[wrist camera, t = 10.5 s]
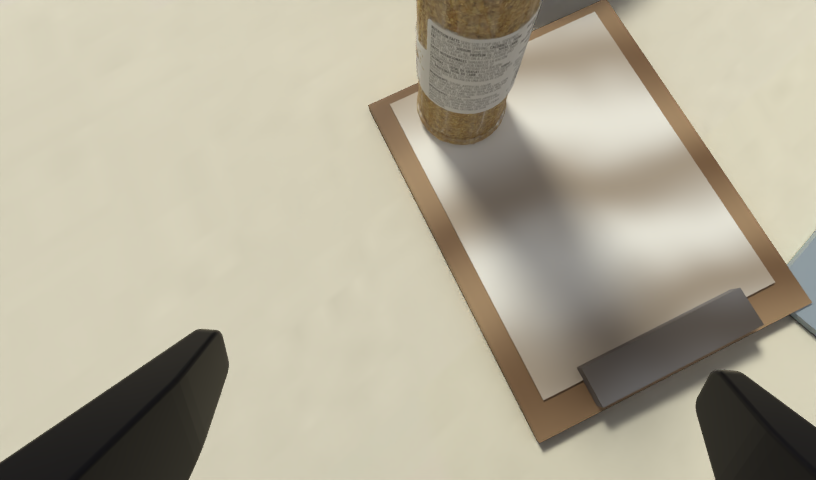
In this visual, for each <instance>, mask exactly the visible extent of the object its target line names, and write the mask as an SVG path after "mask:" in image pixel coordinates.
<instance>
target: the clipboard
mask: <svg viewBox="0 0 816 480" xmlns="http://www.w3.org/2000/svg"><path fill="white" fill-rule="evenodd" d="M418 91H419V84H418V83H417V84H414V85H412V86H410V87H408V88H405V89H403V90H401V91H399V92H397V93H394V94H392V95H390V96H388V97H386V98H383V99H381V100H379V101H377V102H374V103H372V104H370V105H368V106H369V110H370V112H371V114H372V116H373V118H374V120H375V122H376V124H377V126H378V128H379V130H380V132H381V134H382V136H383V138H384V140H385V142H386V144H387V146H388V148H389V150H390V152H391V153H392V155H393V157H394V159H395V161H396V163H397V165H398V167H399V169H400V171H401V173H402V175H403V177H404V179H405V181H406V183H407V185H408V187H409V189H410V191H411V193H412V195H413V197H414V199H415V201H416V203H417V205H418V207H419V209H420V211H421V213H422V215H423V217H424V219H425V221H426V223H427V225H428V227H429V229H430V231H431V233H432V235H433V236H434V238H435V240H436V242H437V244H438V246H439V248H440V250H441V252H442V254H443V256H444V258H445V260H446V262H447V264H448V266H449V268H450V270H451V272H452V274H453V276H454V278H455V280H456V282H457V284H458V286H459V288H460V290H461V292H462V294H463V296H464V298H465V300H466V302H467V304H468V306H469V308H470V310H471V312H472V314H473V316H474V318H475V319H476V321H477V323H478V325H479V327H480V329H481V331H482V333H483V335H484V337H485V339H486V341H487V343H488V345H489V347H490V349H491V351H492V353H493V355H494V357H495V359H496V361H497V363H498V365H499V367H500V369H501V371H502V373H503V375H504V377H505V379H506V381H507V383H508V385H509V387H510V389H511V391H512V393H513V395H514V397H515V399H516V401H517V402H518V404H519V406H520V408H521V410H522V412H523V414H524V416H525V418H526V420H527V422H528V424H529V426H530V428H531V430H532V432H533V434H534V436H535V438H536V440H537V441H538V442H539V443H541V442H543V441H545V440H547V439H549V438H551V437H553V436H555V435H557V434H558V433H560V432H562V431H564V430H566V429H568V428H570V427H572V426H574V425H576V424H578V423H580V422H582V421H584V420H586V419H588V418H590V417H591V416H593V415H595V414H597V413H599V412H601V411H603V410H605V409H607V408H609V407H611V406H613V405H615V404H617V403H619V402H621V401H622V400H624V399H626V398H628V397H630V396H632V395H634V394H636V393H638V392H640V391H642V390H644V389H646V388H648V387H650V386H652V385H654V384H655V383H657V382H659V381H661V380H663V379H665V378H667V377H669V376H671V375H673V374H675V373H677V372H679V371H681V370H683V369H685V368H686V367H688V366H690V365H692V364H694V363H696V362H698V361H700V360H702V359H704V358H706V357H708V356H710V355H712V354H714V353H716V352H717V351H719V350H721V349H723V348H725V347H727V346H729V345H731V344H733V343H735V342H737V341H739V340H741V339H743V338H745V337H747V336H749V335H750V334H752V333H754V332H756V331H758V330H760V329H762V328H764V327H766V326H768V325H770V324H772V323H774V322H776V321H778V320H780V319H781V318H783V317H785V316H787V315H789V314H791V313H793V312H795V311H797V310H799V309H801V308H803V307H805V306H807V305H809V304H811V303H812V301H811V300H810V299H809V297H808V296H807V294H806V293H805V291H804V290H803V288H802V287H801V285H800V284H799V282H798V281H797V279H796V278H795V276H794V275H793V273H792V272H791V271H790V269H789V268H788V266H787V265H786V263H785V262H784V260H783V259H782V257H781V256H780V254H779V253H778V251H777V250H776V248H775V247H774V245H773V244H772V243H771V241H770V240H769V238H768V237H767V235H766V234H765V232H764V231H763V229H762V228H761V226H760V225H759V223H758V222H757V220H756V219H755V217H754V216H753V215H752V213H751V212H750V210H749V209H748V207H747V206H746V204H745V203H744V201H743V200H742V198H741V197H740V195H739V194H738V192H737V191H736V189H735V188H734V187H733V185H732V184H731V182H730V181H729V179H728V178H727V176H726V175H725V173H724V172H723V170H722V169H721V167H720V166H719V164H718V163H717V161H716V160H715V159H714V157H713V156H712V154H711V153H710V151H709V150H708V148H707V147H706V145H705V144H704V142H703V141H702V139H701V138H700V136H699V135H698V133H697V132H696V131H695V129H694V128H693V126H692V125H691V123H690V122H689V120H688V119H687V117H686V116H685V114H684V113H683V111H682V110H681V108H680V107H679V105H678V104H677V103H676V101H675V100H674V98H673V97H672V95H671V94H670V92H669V91H668V89H667V88H666V86H665V85H664V83H663V82H662V80H661V79H660V77H659V76H658V75H657V73H656V72H655V70H654V69H653V67H652V66H651V64H650V63H649V61H648V60H647V58H646V57H645V55H644V54H643V52H642V51H641V49H640V48H639V47H638V45H637V44H636V42H635V41H634V39H633V38H632V36H631V35H630V33H629V32H628V30H627V29H626V27H625V26H624V24H623V23H622V21H621V20H620V19H619V17H618V16H617V14H616V13H615V11H614V10H613V8H612V7H611V5H610V4H609V2H608V1H607V0H601V1H598V2H596V3H594V4H592V5H590V6H587V7H585V8H583V9H581V10H578V11H576V12H574V13H572V14H570V15H567V16H565V17H563V18H561V19H559V20H556V21H554V22H552V23H550V24H547V25H545V26H543V27H541V28H539V29H536V30H534V31H532V32H531V35H530V38H529V41H528V44H527V47H526V49H525V52H524V55H523V58H522V61H521V64H520V67H519V70H518V73H517V76H516V79H515V82H514V84H513V87H512V88H511V90H510V92H509V93H508V96H507V99H506V109H505V114H504V116H503V119H502V122H501V124H500V125H499V126H498V128H497V129H496V130H495V131H494V132H493V133H492V134H491V135H490V136H488V137H487V138H485V139H484V140H482V141H479V142H477V143H475V144H468V145H456V144H451V143H448V142H444V141H441V140H439V139H437V138H436V137H435V136H434V135H432V134H431V133H430V132H429V131H428V130H427V129H426V127H425V126H424V125H423V123H422V122H421V120H420V117H419V114H418V112H417V96H418Z"/></svg>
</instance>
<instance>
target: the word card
mask: <svg viewBox="0 0 816 480" xmlns="http://www.w3.org/2000/svg"><path fill="white" fill-rule="evenodd" d="M787 266H788V268H789V269H790V271H791V272H792V273H793V275H794V276H795V278H796V279H797V281H798V282H799V284H800V285H801V287H802V288H803V290H804V291H805V293H806V294H807V296H808V297H809V299H810V300H811V301H812V303H811V304H809V305H807V306H805V307H803V308H801V309H799V310H797V311H795V312H793V313H791V314H790V315H791V316H792V317H793V318H794V319H796V320H797V321H798V322H799V323H800V324H802V325H803V326H804V327H805V328H807V329H808V330H809V331H810V332H811V333H813V334H814V335H815V336H816V231H815V232H814V233H813V234H812V235H811V237H810V238H809V239H808V240H807V241H806V243H805V244H804V245H803V246H802V247H801V249H800V250H799V251H798V252H797V253H796V255H795V256H794V257H793V258H792V259H791V261H790V262H789V263H788V264H787Z"/></svg>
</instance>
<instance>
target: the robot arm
mask: <svg viewBox="0 0 816 480" xmlns="http://www.w3.org/2000/svg"><path fill="white" fill-rule="evenodd" d="M228 368H229V361H228V356H227V352H226V348H225V344H224V340H223V336H222V334H221V332H220V331H217V330H209V329H198V330H195V331H194V332H192V333H191V334H189V335H188V336H186V337H185V338H183V339H182V340H180V341H179V342H177V343H176V344H174V345H173V346H171V347H170V348H168V349H167V350H166V351H164V352H163V353H161V354H160V355H158V356H157V357H155V358H154V359H152V360H151V361H149V362H148V363H146V364H145V365H143V366H142V367H140V368H139V369H138V370H136V371H135V372H133V373H132V374H130V375H129V376H127V377H126V378H124V379H123V380H121V381H120V382H118V383H117V384H115V385H114V386H112V387H111V388H109V389H108V390H107V391H105V392H104V393H102V394H101V395H99V396H98V397H96V398H95V399H93V400H92V401H90V402H89V403H87V404H86V405H84V406H83V407H81V408H80V409H79V410H77V411H76V412H74V413H73V414H71V415H70V416H68V417H67V418H65V419H64V420H62V421H61V422H59V423H58V424H56V425H55V426H53V427H52V428H50V429H49V430H48V431H46V432H45V433H43V434H42V435H40V436H39V437H37V438H36V439H34V440H33V441H31V442H30V443H28V444H27V445H25V446H24V447H22V448H21V449H20V450H18V451H17V452H15V453H14V454H12V455H11V456H9V457H8V458H6V459H5V460H3V461H2V462H0V480H189V478H190V476H191V473H192V471H193V469H194V467H195V465H196V462H197V460H198V458H199V455H200V453H201V451H202V448H203V445H204V442H205V440H206V437H207V434H208V431H209V428H210V425H211V422H212V419H213V416H214V413H215V410H216V407H217V404H218V401H219V398H220V395H221V392H222V389H223V385H224V382H225V379H226V376H227V373H228ZM696 413H697V417H698V420H699V424H700V427H701V431H702V434H703V438H704V441H705V445H706V448H707V452H708V455H709V459H710V462H711V466H712V469H713V473H714V476H715V480H816V427H815V426H814V425H812V424H811V423H810V422H808V421H807V420H805V419H804V418H803V417H801V416H800V415H799V414H797V413H796V412H795V411H793V410H792V409H791V408H789V407H788V406H786V405H785V404H784V403H782V402H781V401H780V400H778V399H777V398H776V397H774V396H773V395H772V394H770V393H769V392H767V391H766V390H765V389H763V388H762V387H761V386H759V385H758V384H757V383H755V382H754V381H753V380H751V379H750V378H749V377H747V376H746V375H744V374H743V373H741V372H738V371H731V370H714V371H713V372H711V373H710V375H709V377H708V379H707V381H706V382H705V384H704V386H703V388H702V390H701V392H700V394H699V395H698V397H697V400H696Z"/></svg>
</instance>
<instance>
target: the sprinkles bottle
mask: <svg viewBox="0 0 816 480" xmlns="http://www.w3.org/2000/svg"><path fill="white" fill-rule="evenodd" d="M541 4H542V0H417V22H416V64H417V77H418V80H419V81H418V84H419V91H418V96H417V112H418V114H419V117H420V120H421V122H422V123H423V125H424V126H425V127H426V129H427V130H428V131H429V132H430V133H431V134H432V135H434V136H435V137H436V138H437V139H439V140H441V141H444V142H448V143H451V144H456V145H468V144H475V143H477V142H479V141H482V140H484V139H485V138H487V137H488V136H490V135H491V134H492V133H493V132H494V131H495V130H496V129H497V128H498V126H499V125H500V124H501V122H502V119H503V116H504V114H505V109H506V99H507V96H508V93H509V92H510V90H511V88H512V87H513V84H514V82H515V79H516V76H517V73H518V70H519V67H520V64H521V61H522V58H523V55H524V52H525V49H526V47H527V44H528V41H529V38H530V35H531V32H532V29H533V26H534V23H535V21H536V18H537V15H538V12H539V9H540V6H541Z"/></svg>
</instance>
